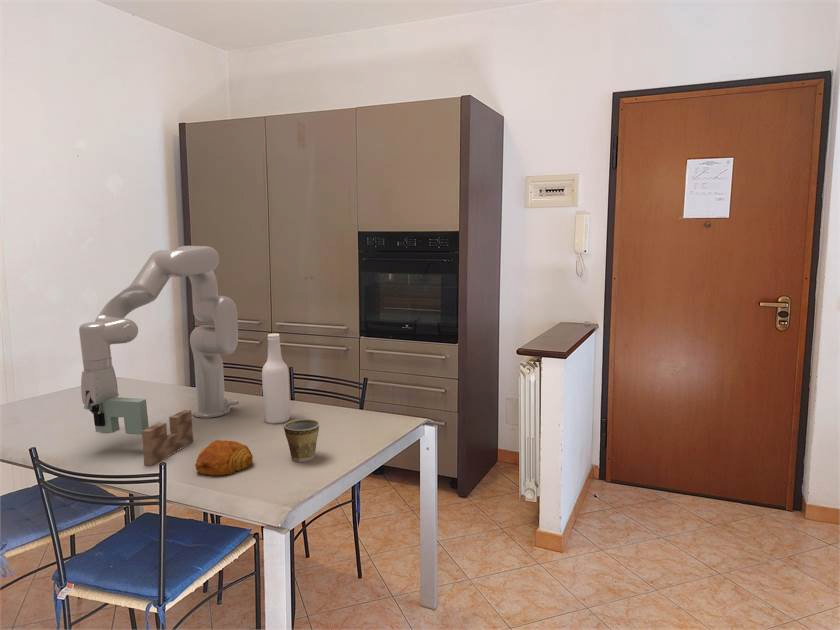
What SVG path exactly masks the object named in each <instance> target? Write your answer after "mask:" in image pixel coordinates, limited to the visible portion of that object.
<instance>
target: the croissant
mask: <svg viewBox="0 0 840 630" xmlns="http://www.w3.org/2000/svg"><path fill="white" fill-rule="evenodd" d="M253 459H254V456H253V453H252V452H251V450H250V448H249V446H247V445H246V444H243V443H240V442H238V441H235V440H225V439H224V440H223V439H222V440H221V439H219V440H218V439H217V440H214V441H212V442H210V443H209V444H208V445H207V446H205V447H204V448H201V450H200V451H199V453H198V456H197V458H196V462H195V464H194V467H195V470H196V471H197V472H198V471H199V472H198V473H200V474H203V475H206V474H209V475H208V476H212V475H218V476H226V475H225V474H231V473H234V472H235V473H236V472H238V471H237V470H240V471H242V470H245V468H247V467H249V466H250V465H251V464H252V463H253ZM241 469H242V470H241ZM235 473H234V474H235ZM231 475H232V474H231Z"/></svg>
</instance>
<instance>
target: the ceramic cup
mask: <svg viewBox="0 0 840 630" xmlns="http://www.w3.org/2000/svg"><path fill="white" fill-rule="evenodd" d="M319 429H320V422H319V421H318V420H315V419H311V418H310V419H309V418H302V419H294V420H290V421H287V422H285V424H283V431H284V434H285V438H286V440H287V443H288V447H289V452H290V458H291V460H292V461H293V462H297V463H305V462H310V461H312V460H313V459H315V456H316V449H317V441H318V438H319V437H318V436H319Z"/></svg>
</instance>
